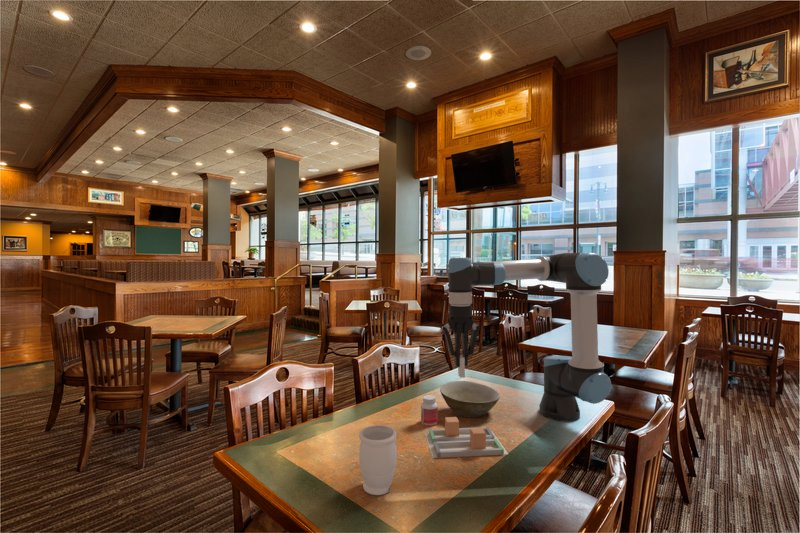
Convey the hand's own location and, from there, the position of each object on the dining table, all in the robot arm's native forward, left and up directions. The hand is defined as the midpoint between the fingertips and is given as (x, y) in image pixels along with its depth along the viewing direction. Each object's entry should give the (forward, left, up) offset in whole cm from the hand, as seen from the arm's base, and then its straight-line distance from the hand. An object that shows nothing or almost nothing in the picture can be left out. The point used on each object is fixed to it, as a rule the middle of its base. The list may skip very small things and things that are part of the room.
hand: (461, 376), depth 126 cm
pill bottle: (+8, -17, -24) cm, 31 cm away
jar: (+28, +19, -24) cm, 41 cm away
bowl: (-10, -27, -24) cm, 38 cm away
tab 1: (+2, -5, -23) cm, 23 cm away
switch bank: (-1, 0, -24) cm, 24 cm away
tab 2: (-4, +4, -23) cm, 23 cm away
